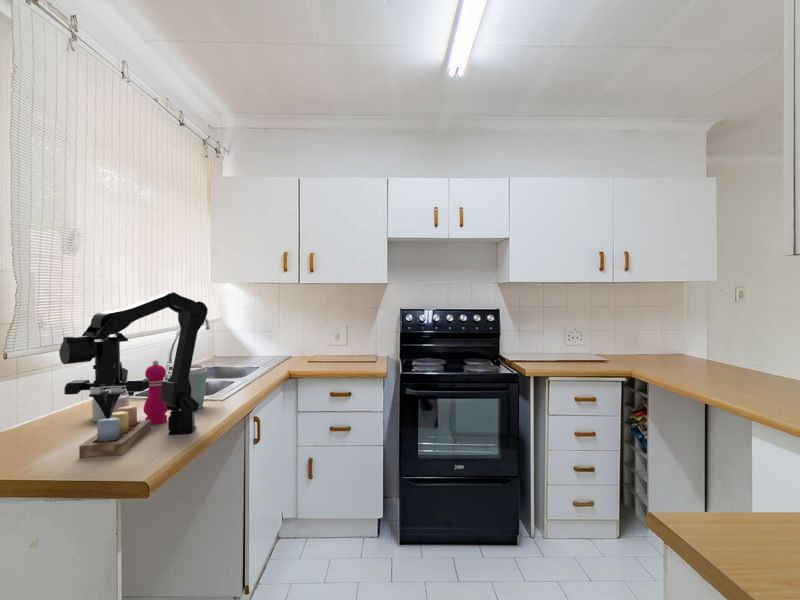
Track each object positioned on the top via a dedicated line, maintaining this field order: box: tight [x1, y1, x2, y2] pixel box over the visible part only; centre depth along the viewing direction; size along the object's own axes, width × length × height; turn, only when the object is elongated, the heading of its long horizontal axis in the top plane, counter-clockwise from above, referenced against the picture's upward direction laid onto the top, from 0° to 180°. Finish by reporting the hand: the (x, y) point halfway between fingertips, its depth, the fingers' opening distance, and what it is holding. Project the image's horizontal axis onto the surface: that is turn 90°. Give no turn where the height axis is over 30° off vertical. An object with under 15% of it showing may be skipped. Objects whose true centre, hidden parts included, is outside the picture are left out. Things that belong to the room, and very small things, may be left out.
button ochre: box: [111, 412, 129, 434], centre depth 138 cm, size 5×5×5 cm
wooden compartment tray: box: [78, 419, 152, 458], centre depth 138 cm, size 10×24×3 cm, turn 11°
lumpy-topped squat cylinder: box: [91, 389, 130, 422], centre depth 166 cm, size 10×13×9 cm
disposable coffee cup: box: [189, 364, 209, 409], centre depth 179 cm, size 11×11×15 cm
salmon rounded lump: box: [117, 405, 138, 427], centre depth 144 cm, size 5×5×5 cm
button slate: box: [96, 418, 119, 442], centre depth 131 cm, size 5×5×5 cm
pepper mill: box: [143, 360, 169, 425], centre depth 159 cm, size 7×7×20 cm
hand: (108, 418), depth 131 cm, fingers closed
